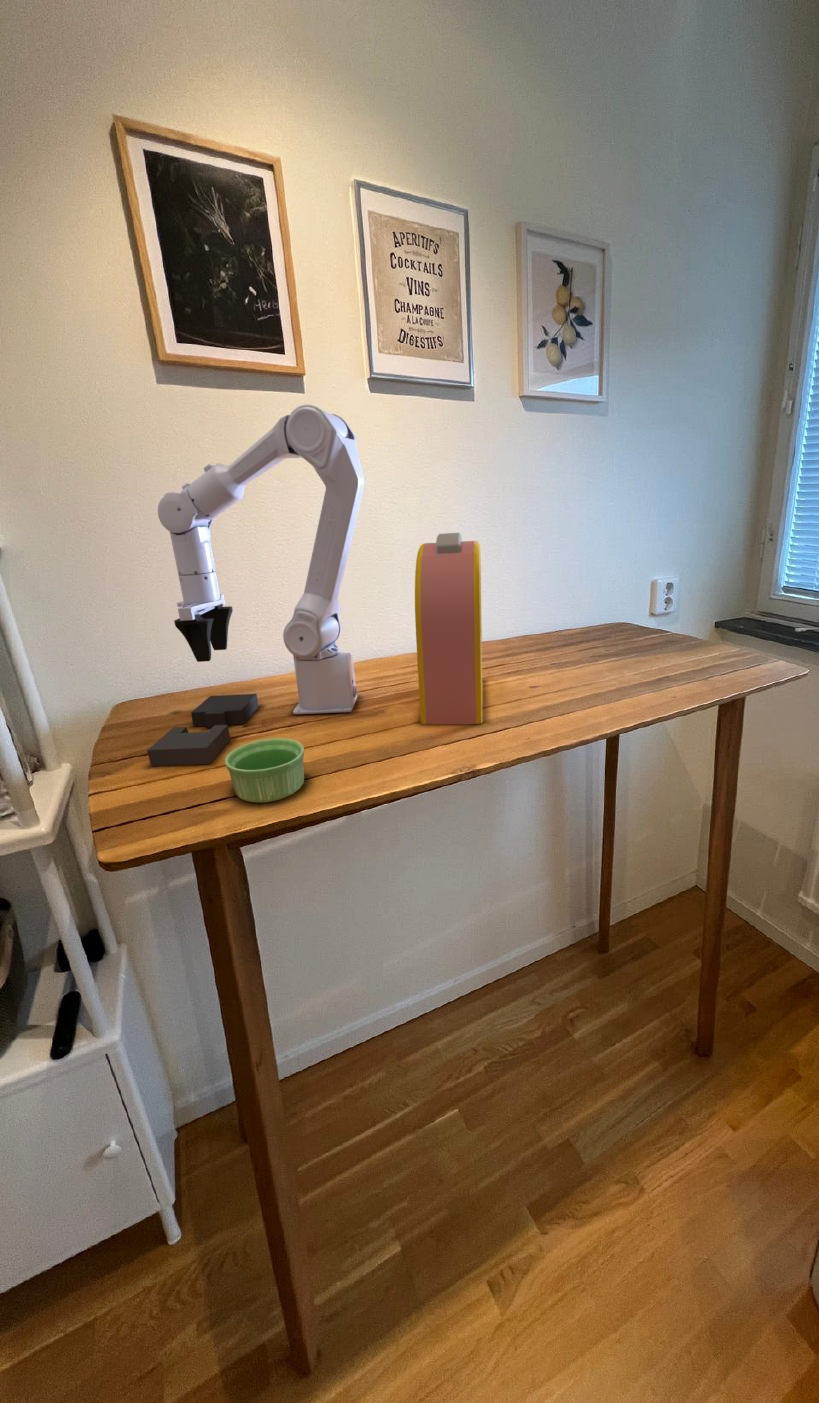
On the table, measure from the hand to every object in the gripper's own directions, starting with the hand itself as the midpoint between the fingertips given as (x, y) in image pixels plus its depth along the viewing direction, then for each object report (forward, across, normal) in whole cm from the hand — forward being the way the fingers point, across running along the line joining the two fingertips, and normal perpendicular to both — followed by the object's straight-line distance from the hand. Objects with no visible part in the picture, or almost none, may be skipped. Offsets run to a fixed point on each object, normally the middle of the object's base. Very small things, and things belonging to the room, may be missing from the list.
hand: (212, 655), depth 93 cm
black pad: (+9, +7, +3) cm, 11 cm away
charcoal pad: (+9, +21, +3) cm, 23 cm away
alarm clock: (+9, +4, +40) cm, 42 cm away
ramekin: (+9, +32, +17) cm, 37 cm away
